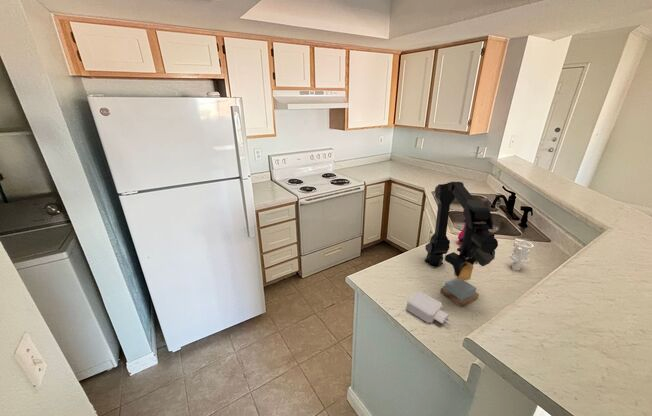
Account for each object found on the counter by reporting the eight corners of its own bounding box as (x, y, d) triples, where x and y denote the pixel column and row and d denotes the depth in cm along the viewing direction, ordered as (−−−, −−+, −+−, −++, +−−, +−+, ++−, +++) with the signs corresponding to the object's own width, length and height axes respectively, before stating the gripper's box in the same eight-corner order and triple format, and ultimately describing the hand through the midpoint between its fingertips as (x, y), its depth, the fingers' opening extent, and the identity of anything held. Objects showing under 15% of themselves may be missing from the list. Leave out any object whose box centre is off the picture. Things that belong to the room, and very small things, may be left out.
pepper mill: (458, 240, 151) (465, 208, 143) (472, 244, 147) (480, 211, 140) (455, 245, 146) (462, 212, 138) (469, 249, 142) (478, 215, 134)
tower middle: (444, 288, 109) (445, 282, 108) (457, 282, 112) (458, 276, 111) (461, 300, 102) (463, 294, 101) (474, 294, 106) (476, 288, 105)
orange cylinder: (450, 273, 106) (452, 263, 104) (459, 269, 108) (462, 258, 106) (464, 282, 101) (467, 271, 99) (473, 277, 104) (476, 266, 102)
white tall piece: (507, 262, 131) (515, 235, 125) (524, 267, 127) (534, 240, 121) (506, 269, 126) (515, 241, 120) (524, 275, 122) (534, 246, 116)
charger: (444, 334, 91) (405, 310, 101) (455, 320, 96) (418, 299, 107) (447, 324, 89) (407, 300, 99) (458, 310, 95) (420, 289, 105)
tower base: (439, 293, 110) (441, 288, 109) (454, 286, 115) (456, 280, 114) (462, 309, 102) (463, 303, 101) (477, 300, 107) (478, 294, 106)
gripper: (476, 255, 87) (466, 293, 93) (507, 241, 96) (496, 277, 102) (447, 240, 96) (440, 276, 102) (478, 229, 105) (469, 262, 111)
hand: (462, 273), depth 104 cm, fingers closed on orange cylinder, 6 cm apart
